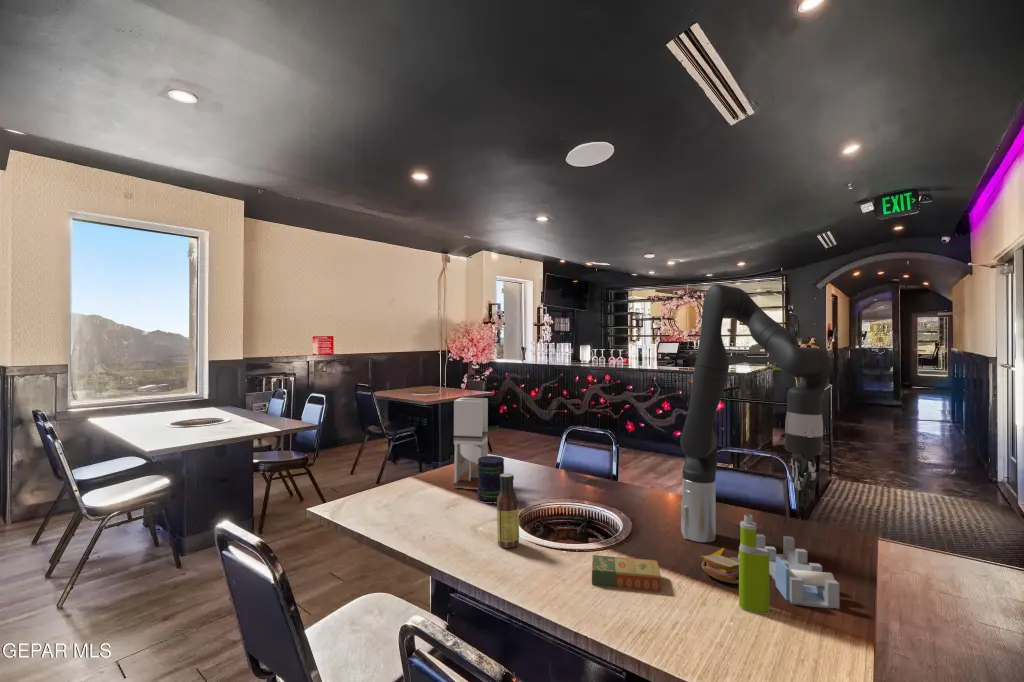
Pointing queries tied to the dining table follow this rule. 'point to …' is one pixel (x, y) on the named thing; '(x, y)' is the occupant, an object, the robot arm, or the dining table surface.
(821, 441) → the robot arm
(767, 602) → the vape
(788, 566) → the white peg rack
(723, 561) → the toy sandwich meal
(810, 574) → the cream cylindrical rod
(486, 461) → the storage jar
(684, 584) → the dining table surface
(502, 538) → the sauce bottle
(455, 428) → the white boxy tower
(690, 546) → the dining table surface
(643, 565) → the carton
